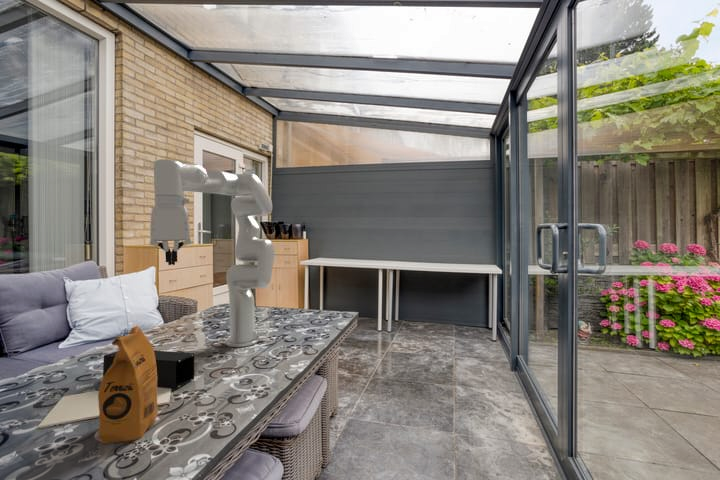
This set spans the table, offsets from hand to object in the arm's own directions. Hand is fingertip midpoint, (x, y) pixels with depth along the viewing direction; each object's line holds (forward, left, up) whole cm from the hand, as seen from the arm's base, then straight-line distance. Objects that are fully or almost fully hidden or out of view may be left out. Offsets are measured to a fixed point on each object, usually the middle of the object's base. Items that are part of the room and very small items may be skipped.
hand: (171, 264), depth 101 cm
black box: (-4, +4, -31) cm, 31 cm away
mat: (+13, +7, -35) cm, 38 cm away
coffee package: (+7, +24, -35) cm, 43 cm away
